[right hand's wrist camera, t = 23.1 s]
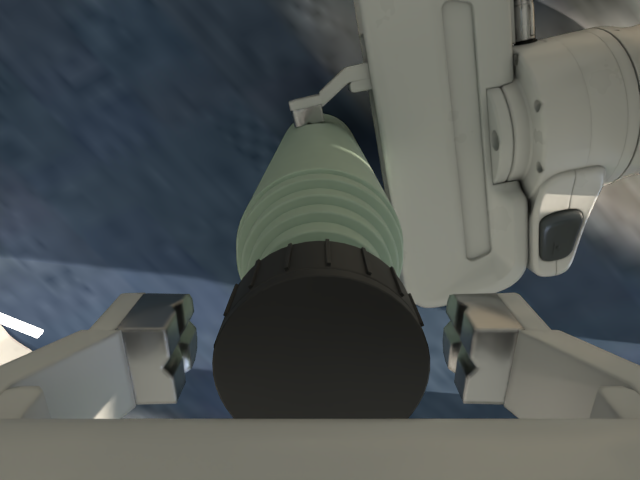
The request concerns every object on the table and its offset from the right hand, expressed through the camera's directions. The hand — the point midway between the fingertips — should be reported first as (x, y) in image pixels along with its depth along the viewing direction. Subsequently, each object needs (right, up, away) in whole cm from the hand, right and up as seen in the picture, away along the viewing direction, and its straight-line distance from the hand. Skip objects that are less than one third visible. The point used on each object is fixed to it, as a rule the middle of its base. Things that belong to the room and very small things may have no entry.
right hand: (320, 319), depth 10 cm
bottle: (0, +8, +21) cm, 23 cm away
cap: (0, -1, -2) cm, 2 cm away
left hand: (-1, +6, +16) cm, 17 cm away
